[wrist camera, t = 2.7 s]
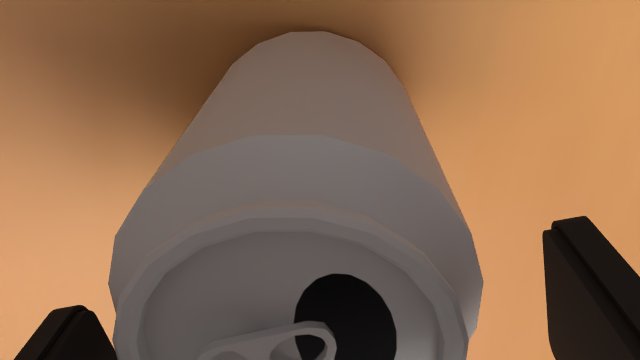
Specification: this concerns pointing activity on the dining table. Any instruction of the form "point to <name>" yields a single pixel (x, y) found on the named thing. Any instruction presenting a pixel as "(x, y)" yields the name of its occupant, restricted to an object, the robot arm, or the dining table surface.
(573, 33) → the dining table surface
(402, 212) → the can
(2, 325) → the dining table surface
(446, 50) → the dining table surface
